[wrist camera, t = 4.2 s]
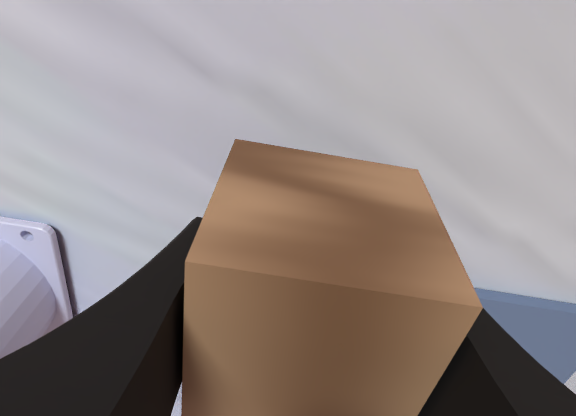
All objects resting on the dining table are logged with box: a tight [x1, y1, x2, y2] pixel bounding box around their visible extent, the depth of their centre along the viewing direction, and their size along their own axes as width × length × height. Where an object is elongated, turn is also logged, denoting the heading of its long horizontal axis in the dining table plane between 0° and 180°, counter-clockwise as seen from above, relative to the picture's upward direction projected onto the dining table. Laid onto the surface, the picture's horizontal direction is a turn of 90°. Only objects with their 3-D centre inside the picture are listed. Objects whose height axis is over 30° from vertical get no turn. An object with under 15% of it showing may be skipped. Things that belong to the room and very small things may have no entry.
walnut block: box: [181, 139, 483, 416], centre depth 10 cm, size 5×5×5 cm
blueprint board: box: [474, 288, 576, 384], centre depth 21 cm, size 18×16×1 cm
